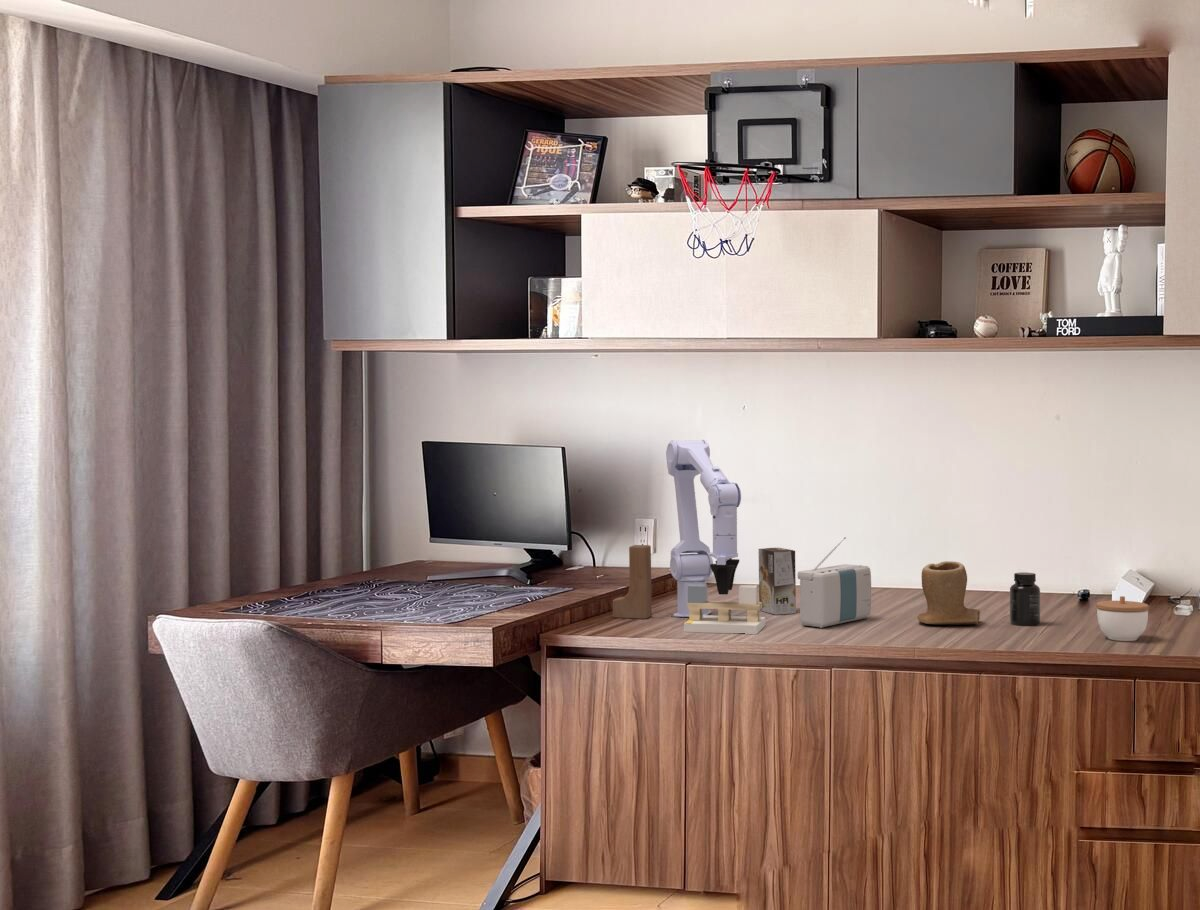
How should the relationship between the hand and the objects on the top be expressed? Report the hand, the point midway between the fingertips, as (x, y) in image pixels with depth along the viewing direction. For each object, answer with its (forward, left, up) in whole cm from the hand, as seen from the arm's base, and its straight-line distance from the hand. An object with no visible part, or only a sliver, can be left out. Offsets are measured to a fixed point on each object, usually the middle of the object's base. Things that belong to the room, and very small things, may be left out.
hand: (725, 592), depth 315 cm
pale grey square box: (+1, -7, -2) cm, 7 cm away
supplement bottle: (-21, +68, -9) cm, 72 cm away
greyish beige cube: (0, +5, -2) cm, 6 cm away
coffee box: (-28, +8, -9) cm, 30 cm away
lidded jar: (-4, +88, -9) cm, 89 cm away
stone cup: (-16, +51, -9) cm, 54 cm away
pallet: (0, 0, -6) cm, 7 cm away
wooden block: (-12, -26, -9) cm, 30 cm away
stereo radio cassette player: (-14, +24, -9) cm, 29 cm away
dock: (+1, 0, -9) cm, 9 cm away
